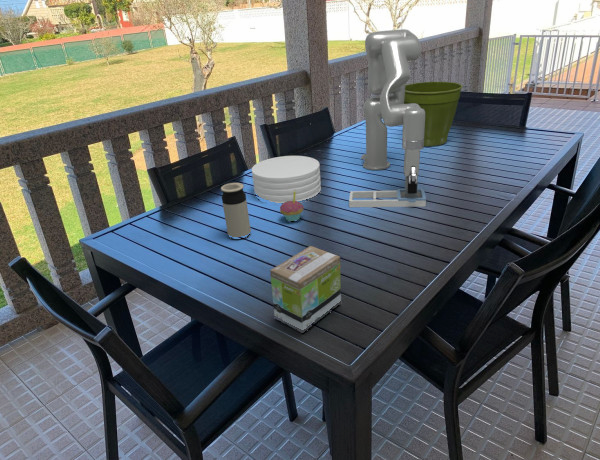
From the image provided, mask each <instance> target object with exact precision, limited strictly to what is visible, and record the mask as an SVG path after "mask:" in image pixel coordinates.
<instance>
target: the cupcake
mask: <svg viewBox="0 0 600 460" xmlns="http://www.w3.org/2000/svg"><path fill="white" fill-rule="evenodd" d="M295 194H296V192H295V191H294V196H293V201H287V202H285V203H283V204H282V205H280V206H279V213H281V214H282V215H283V216H284V218H285V220H286V221H287V220H288V221H295V220H298V219H299V220H300V219H301V218H300V217H301V213H303V211H304V207H305V206H304V204H302V202H301V203H300V202H298V201H295ZM299 220H298V221H299ZM288 221H287V222H288Z"/></svg>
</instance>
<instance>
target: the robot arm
mask: <svg viewBox="0 0 600 460" xmlns="http://www.w3.org/2000/svg"><path fill="white" fill-rule="evenodd" d="M364 47H365V54H366V56H367V60H368V61H367V63H368V66H367V67H368V68H367V70H368V71H367V73H368V75H367V89H368V92H369V93H370V94H371V95H376V96H371V97H369V98H367V99H366V100H365V101H364V103H363V113H364V121H365V154H364V153H363V154H362V156H360V160H364V162H363V163H362V167H363V168H364V169H366V170H369V171H382V170H386V169H389V167H391V163H390V161H388V128H390V127H391V128H392V127H393V128H394V127H402V137H401V138H402V139H401V142H402V143H401V145H402V146H401V149H403V150H404V153H403V154H404V155H403V175H404V178H405V177H407V176H409V183H408V194H416V193H417V189H418V183H417V176H418V177H419V174H420V173H419V172H420V164H421V163H420V159H421V150H423V149H424V147H425V146H424V129H425V111H424V109H422V108H420V106H419V105H418V104H416V103H411V104H404V98H405V85H407V84H406V83H408V81H410V80H411V76H412V75H411V70H410V66H409V61H410V62H411V61H416V60H418V59H420V57H421V55H422V45H421V41H420V39H419V37H418V35H417V36H416V35H415V34H414V33H413V32H411V31H410V30H409V29H405V28H404V29H393V30H392V29H391V30H379V31H373V32H370V33H369V34H367V35H366V38H365V41H364ZM391 94H392V95H391ZM377 95H379V96H377ZM410 174H412V175H410ZM410 177H412V178H411V179H410Z"/></svg>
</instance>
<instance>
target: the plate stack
mask: <svg viewBox="0 0 600 460" xmlns="http://www.w3.org/2000/svg"><path fill="white" fill-rule="evenodd" d="M320 166H321V165H320V162H319V161H318V160H317V159H315V158H313V157H309V156H305V155H304V156H303V155H284V156H277V157H271V158H267V159H264V160H261V161H260V162H257V163H255V164H254V165H253V166H252V167H251V174H252V184H253V191H254V194H255V193H256V194H257V195H258V196H259V197H261V198H263V199H265V200H269V201H270V202H275V203H285V202H287V201H293V196H294V191H295V192H296V194H295V201H302V200H306V199H309V198H312V197H314V196H316V195H317V194H318V193H319V192H320V191H321V192H322V187H321V169H320ZM321 192H320V193H321ZM316 197H317V196H316Z"/></svg>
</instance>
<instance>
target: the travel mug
mask: <svg viewBox="0 0 600 460" xmlns="http://www.w3.org/2000/svg"><path fill="white" fill-rule="evenodd" d="M244 186H245V185H244V184H243V183H240V182H229V183H226V184H224V185H222V186H221V187H220V190H221V192H222V195H221V201H222V208H223V213H224V219H225V226H226V231H227V236H228V235H230V236H232V237H241V236H245V235H248V234H249V233H250V232H251V233H252V230H251V223H250V217H249V209H248V203H247V195H246V192H244V188H245V187H244Z"/></svg>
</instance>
